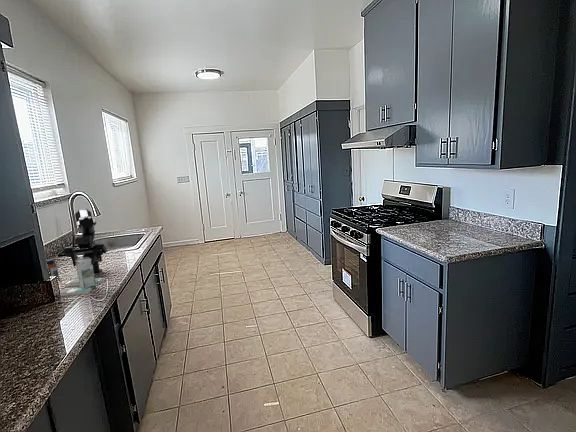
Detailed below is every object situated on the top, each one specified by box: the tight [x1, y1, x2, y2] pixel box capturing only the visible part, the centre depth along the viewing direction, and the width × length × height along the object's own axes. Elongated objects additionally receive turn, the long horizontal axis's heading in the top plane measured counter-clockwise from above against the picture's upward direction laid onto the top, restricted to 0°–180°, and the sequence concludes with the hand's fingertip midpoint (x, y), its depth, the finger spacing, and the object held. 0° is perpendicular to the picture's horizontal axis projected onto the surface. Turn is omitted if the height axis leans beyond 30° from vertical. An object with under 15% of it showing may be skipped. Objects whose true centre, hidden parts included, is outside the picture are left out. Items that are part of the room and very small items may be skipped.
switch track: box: [59, 277, 103, 297], centre depth 170 cm, size 17×17×2 cm
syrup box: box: [75, 257, 97, 288], centre depth 169 cm, size 6×6×14 cm
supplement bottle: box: [46, 258, 60, 279], centre depth 186 cm, size 6×6×11 cm
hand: (83, 265), depth 167 cm, fingers closed on syrup box, 8 cm apart
